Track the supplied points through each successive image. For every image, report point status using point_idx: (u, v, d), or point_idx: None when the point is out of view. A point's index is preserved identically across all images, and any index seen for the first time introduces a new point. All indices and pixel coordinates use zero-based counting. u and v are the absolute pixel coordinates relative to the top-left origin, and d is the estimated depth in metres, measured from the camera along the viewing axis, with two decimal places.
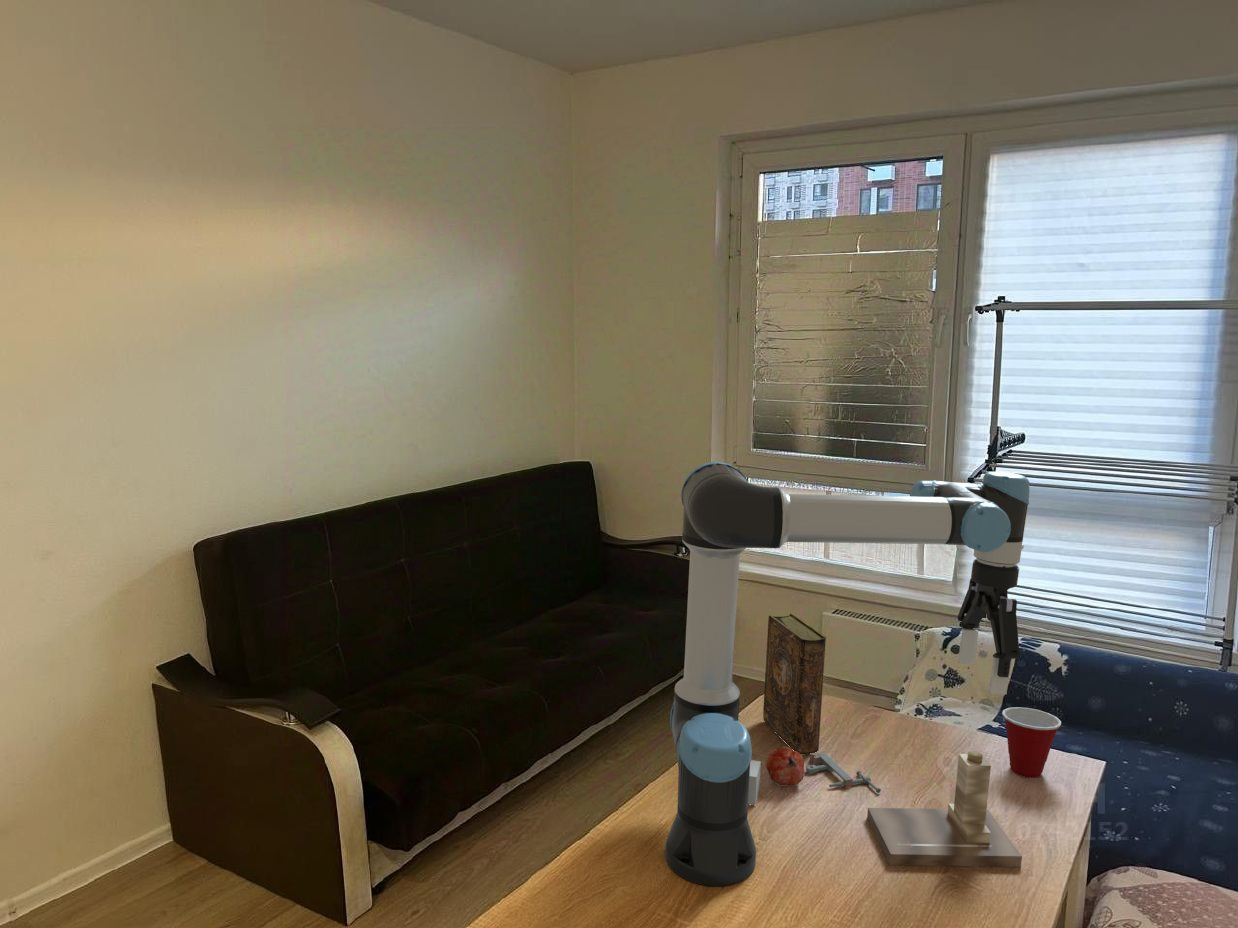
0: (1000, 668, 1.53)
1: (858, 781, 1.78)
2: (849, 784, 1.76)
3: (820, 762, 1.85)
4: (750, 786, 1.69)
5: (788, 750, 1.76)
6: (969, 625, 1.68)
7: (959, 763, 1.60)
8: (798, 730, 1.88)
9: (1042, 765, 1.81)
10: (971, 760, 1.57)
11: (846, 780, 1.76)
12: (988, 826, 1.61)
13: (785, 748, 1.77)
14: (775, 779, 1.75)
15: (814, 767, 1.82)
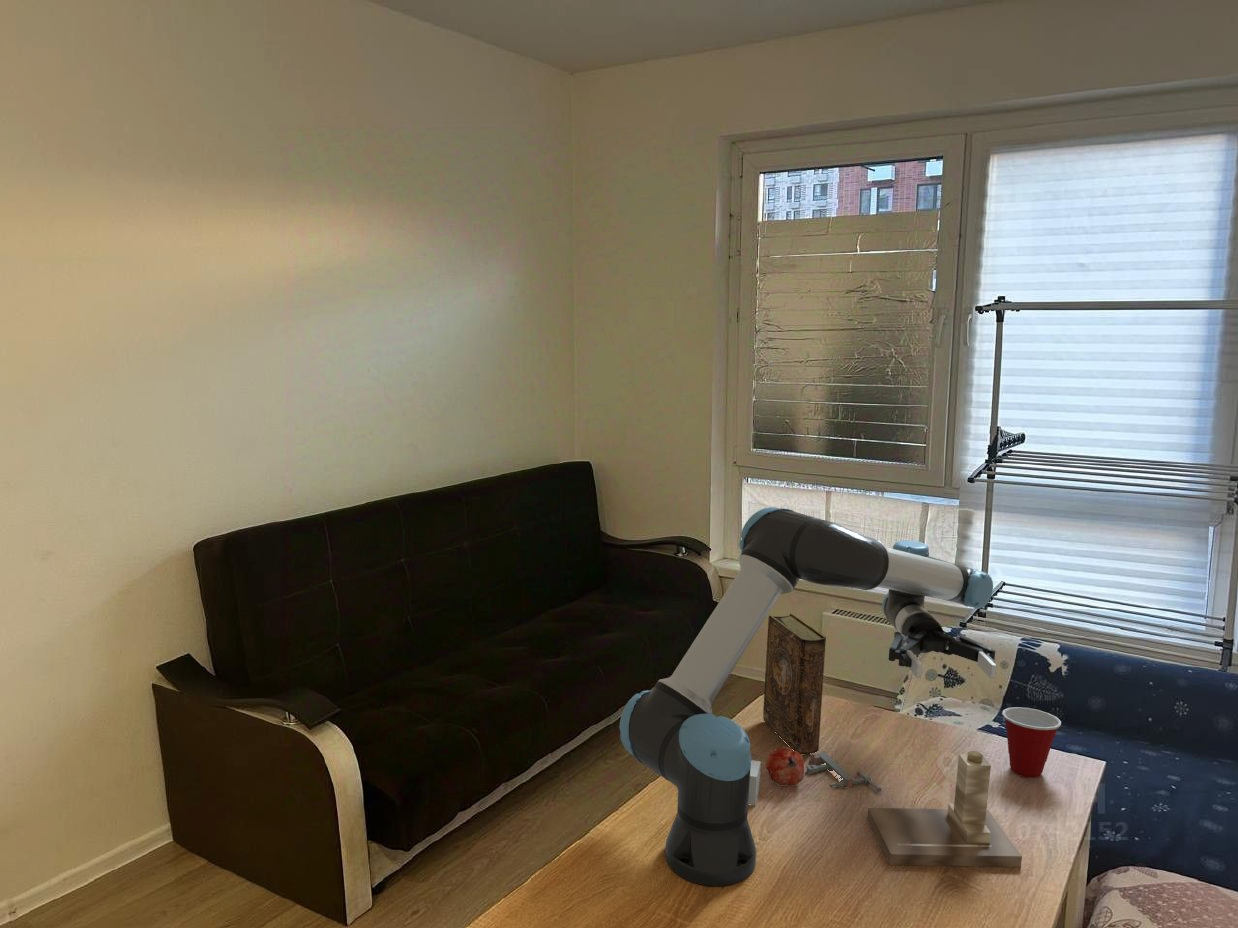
0: (990, 658, 1.72)
1: (859, 780, 1.78)
2: (850, 784, 1.76)
3: (820, 762, 1.85)
4: (750, 786, 1.69)
5: (788, 750, 1.76)
6: None
7: (959, 763, 1.60)
8: (798, 730, 1.88)
9: (1042, 765, 1.81)
10: (971, 760, 1.57)
11: (847, 780, 1.76)
12: (988, 826, 1.61)
13: (785, 748, 1.77)
14: (775, 779, 1.75)
15: (814, 767, 1.82)
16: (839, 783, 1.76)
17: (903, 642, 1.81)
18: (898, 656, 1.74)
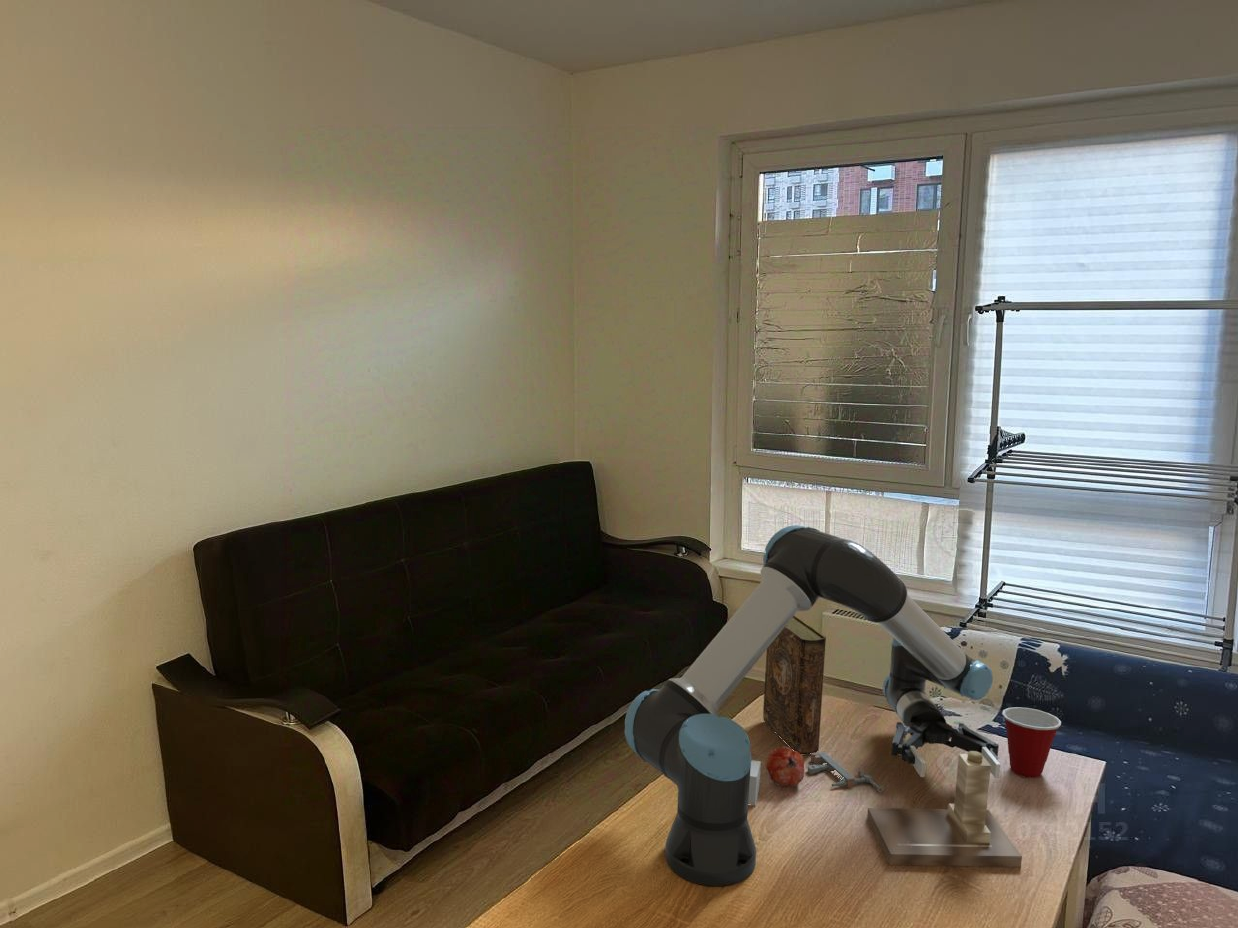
0: (993, 754, 1.70)
1: (860, 780, 1.78)
2: (851, 783, 1.77)
3: (821, 762, 1.85)
4: (750, 786, 1.69)
5: (788, 750, 1.76)
6: None
7: (959, 763, 1.60)
8: (798, 730, 1.88)
9: (1042, 765, 1.81)
10: (971, 760, 1.57)
11: (848, 779, 1.77)
12: (988, 826, 1.61)
13: (785, 748, 1.77)
14: (775, 779, 1.75)
15: (815, 767, 1.82)
16: (840, 783, 1.76)
17: (905, 733, 1.79)
18: (901, 751, 1.72)
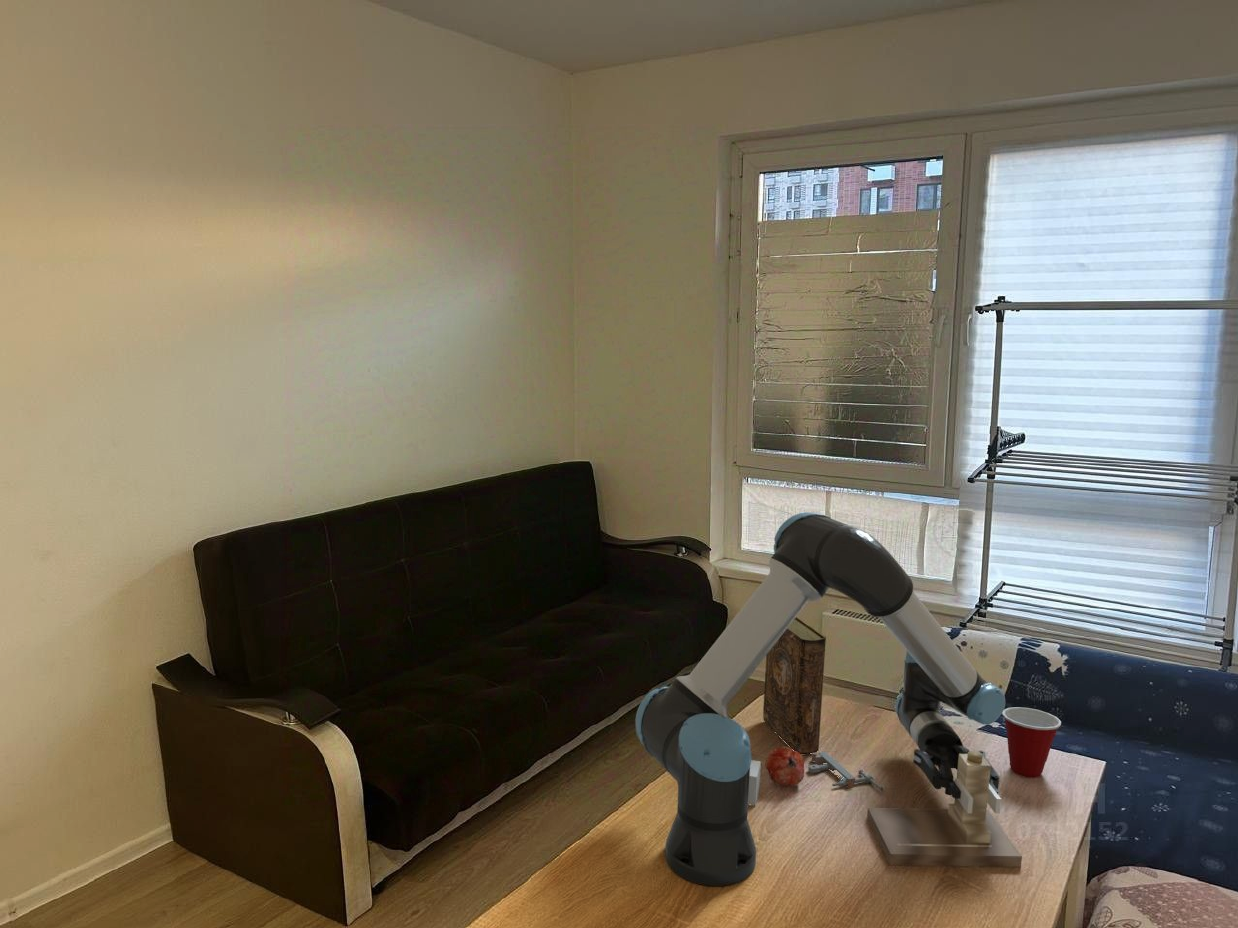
0: (994, 787, 1.58)
1: (861, 780, 1.78)
2: (852, 783, 1.77)
3: (822, 761, 1.85)
4: (750, 786, 1.69)
5: (788, 750, 1.76)
6: None
7: (959, 763, 1.60)
8: (798, 730, 1.88)
9: (1042, 765, 1.81)
10: (971, 760, 1.57)
11: (849, 779, 1.77)
12: (988, 826, 1.61)
13: (785, 748, 1.77)
14: (775, 779, 1.75)
15: (816, 767, 1.82)
16: (841, 782, 1.77)
17: None
18: (945, 784, 1.60)
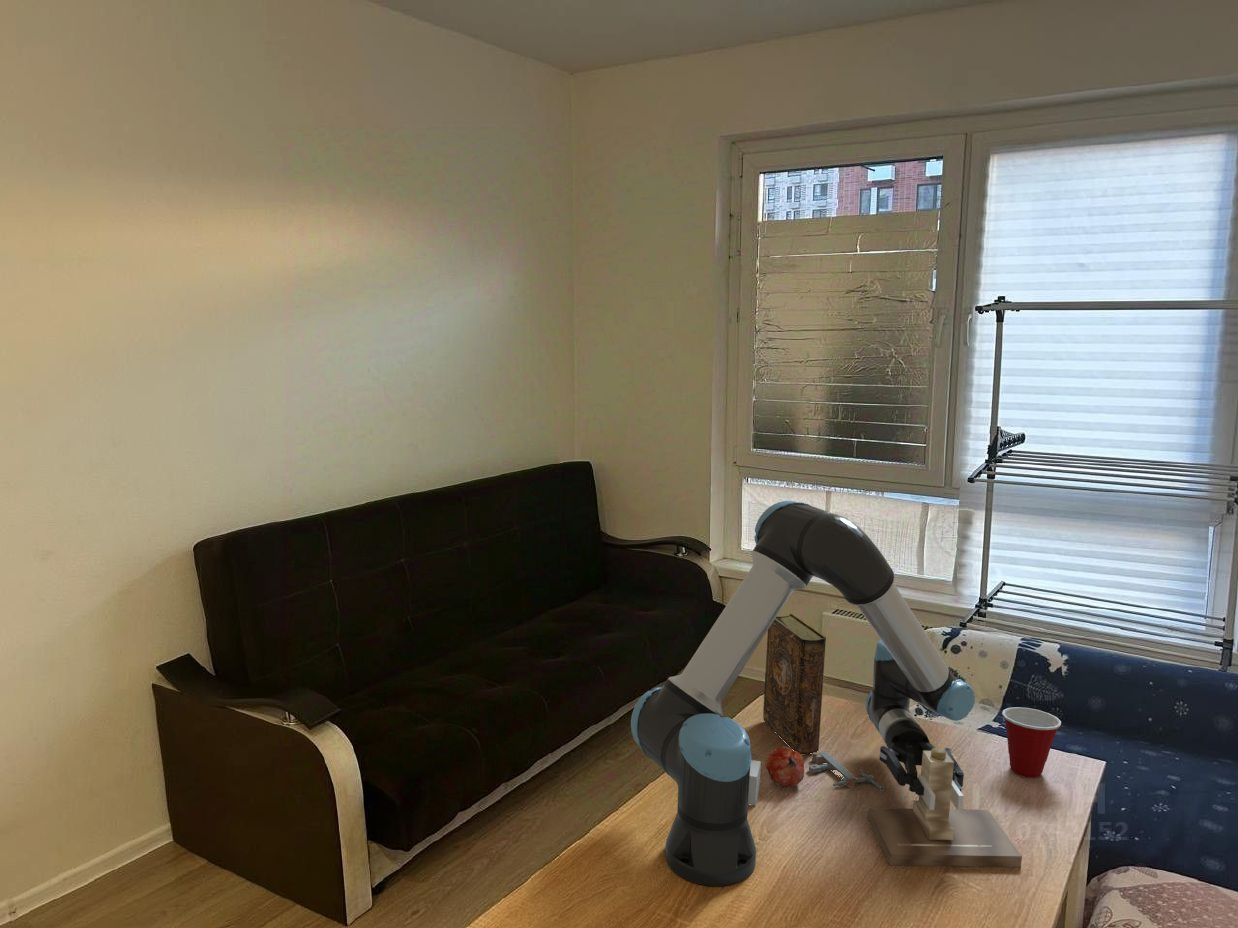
0: (957, 784, 1.58)
1: (861, 780, 1.78)
2: (852, 783, 1.77)
3: (822, 761, 1.85)
4: (750, 786, 1.69)
5: (788, 750, 1.76)
6: None
7: (923, 760, 1.60)
8: (798, 730, 1.88)
9: (1042, 765, 1.81)
10: (934, 757, 1.57)
11: (849, 779, 1.77)
12: (988, 826, 1.61)
13: (785, 748, 1.77)
14: (775, 779, 1.75)
15: (816, 767, 1.82)
16: (842, 782, 1.77)
17: None
18: (909, 781, 1.60)
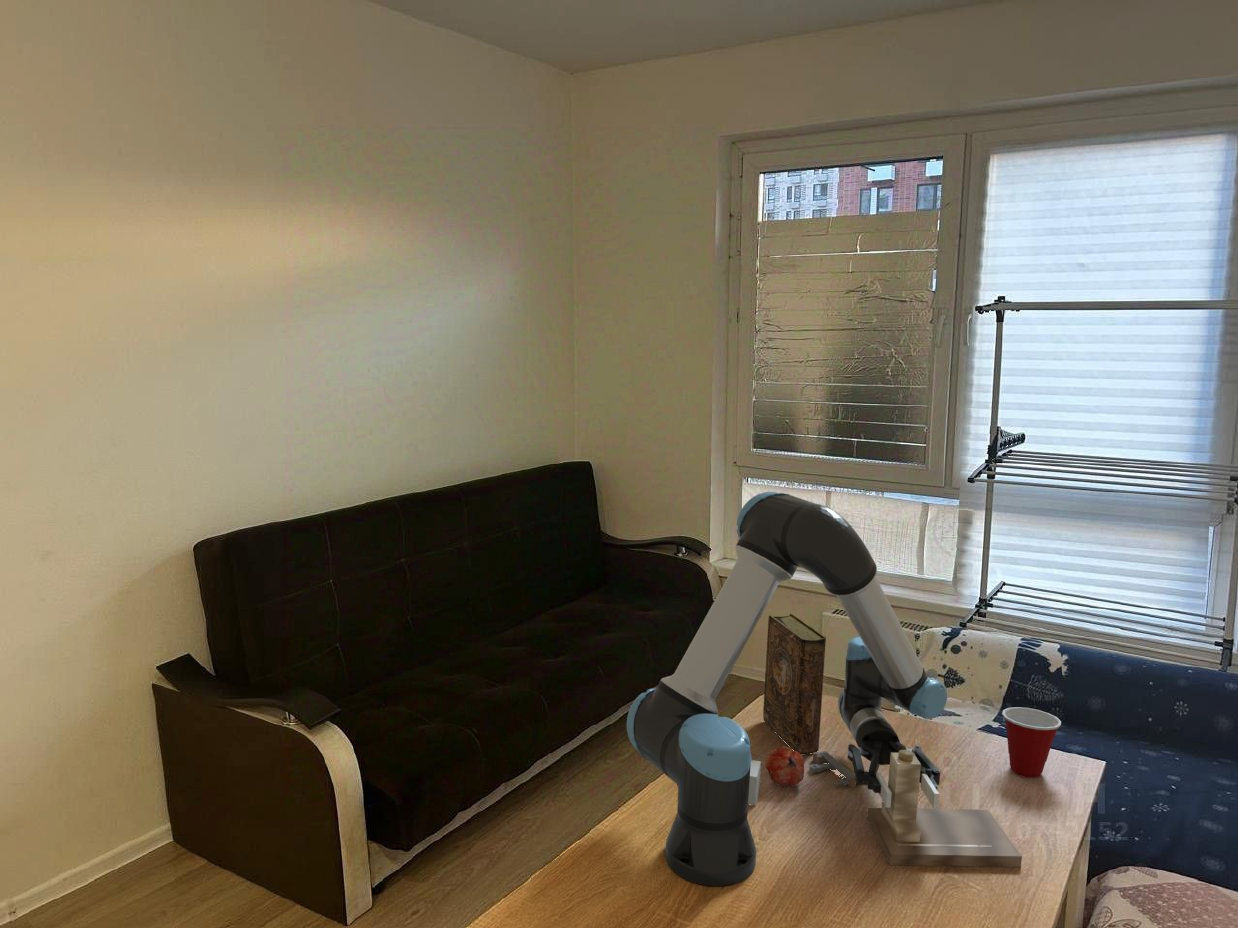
0: (933, 782, 1.59)
1: None
2: (853, 783, 1.77)
3: (823, 761, 1.85)
4: (750, 786, 1.69)
5: (788, 750, 1.76)
6: None
7: (890, 762, 1.60)
8: (798, 730, 1.88)
9: (1042, 765, 1.81)
10: (902, 759, 1.57)
11: (850, 779, 1.77)
12: (988, 826, 1.61)
13: (785, 748, 1.77)
14: (775, 779, 1.75)
15: (817, 766, 1.82)
16: (842, 782, 1.77)
17: None
18: (867, 779, 1.61)
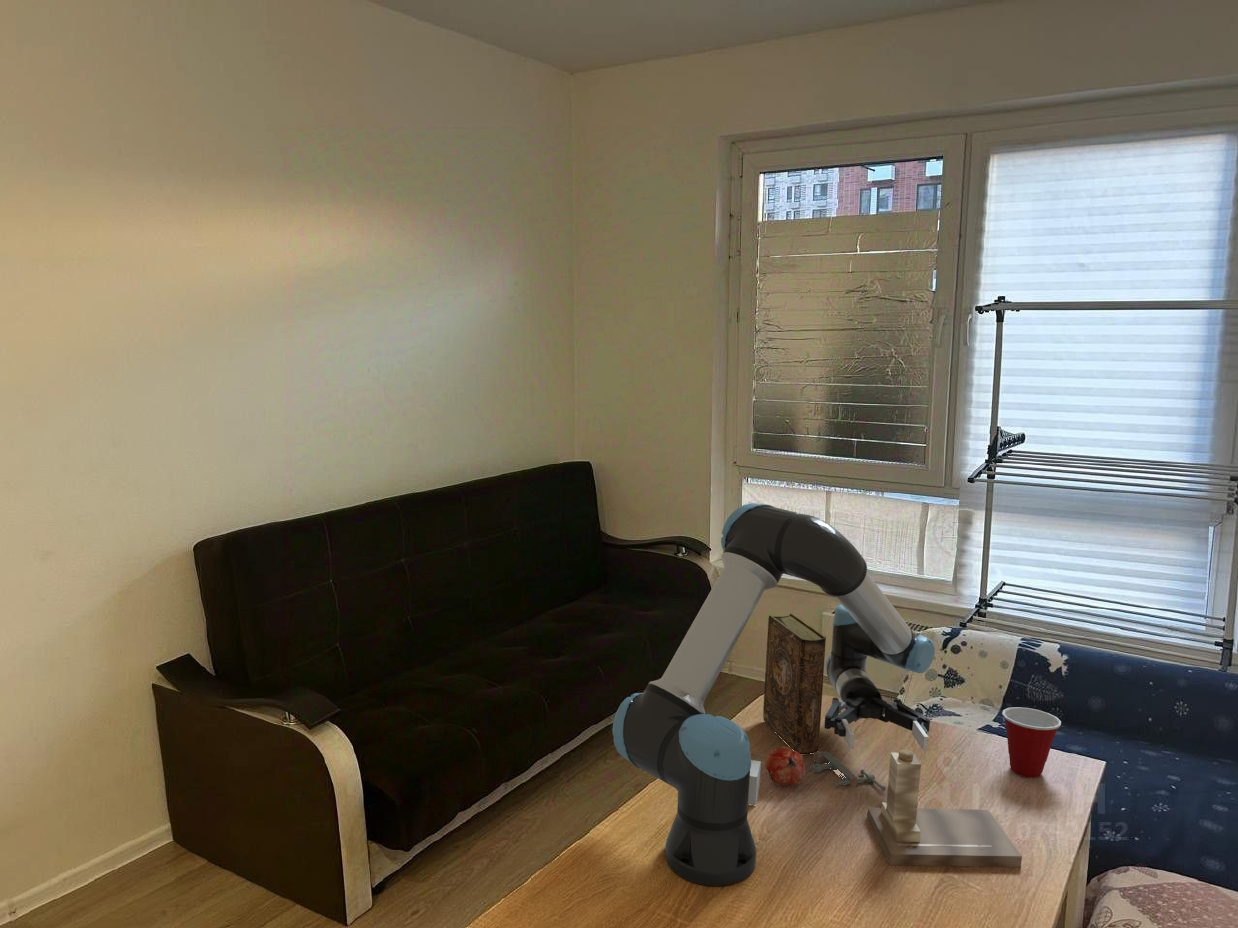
0: (924, 728, 1.73)
1: (863, 779, 1.78)
2: (854, 782, 1.77)
3: (823, 761, 1.86)
4: (750, 786, 1.69)
5: (788, 750, 1.76)
6: None
7: (890, 762, 1.60)
8: (798, 730, 1.88)
9: (1042, 765, 1.81)
10: (902, 759, 1.57)
11: (851, 778, 1.77)
12: (988, 826, 1.61)
13: (785, 748, 1.77)
14: (775, 779, 1.75)
15: (818, 766, 1.82)
16: (843, 782, 1.77)
17: (841, 708, 1.82)
18: (833, 724, 1.75)
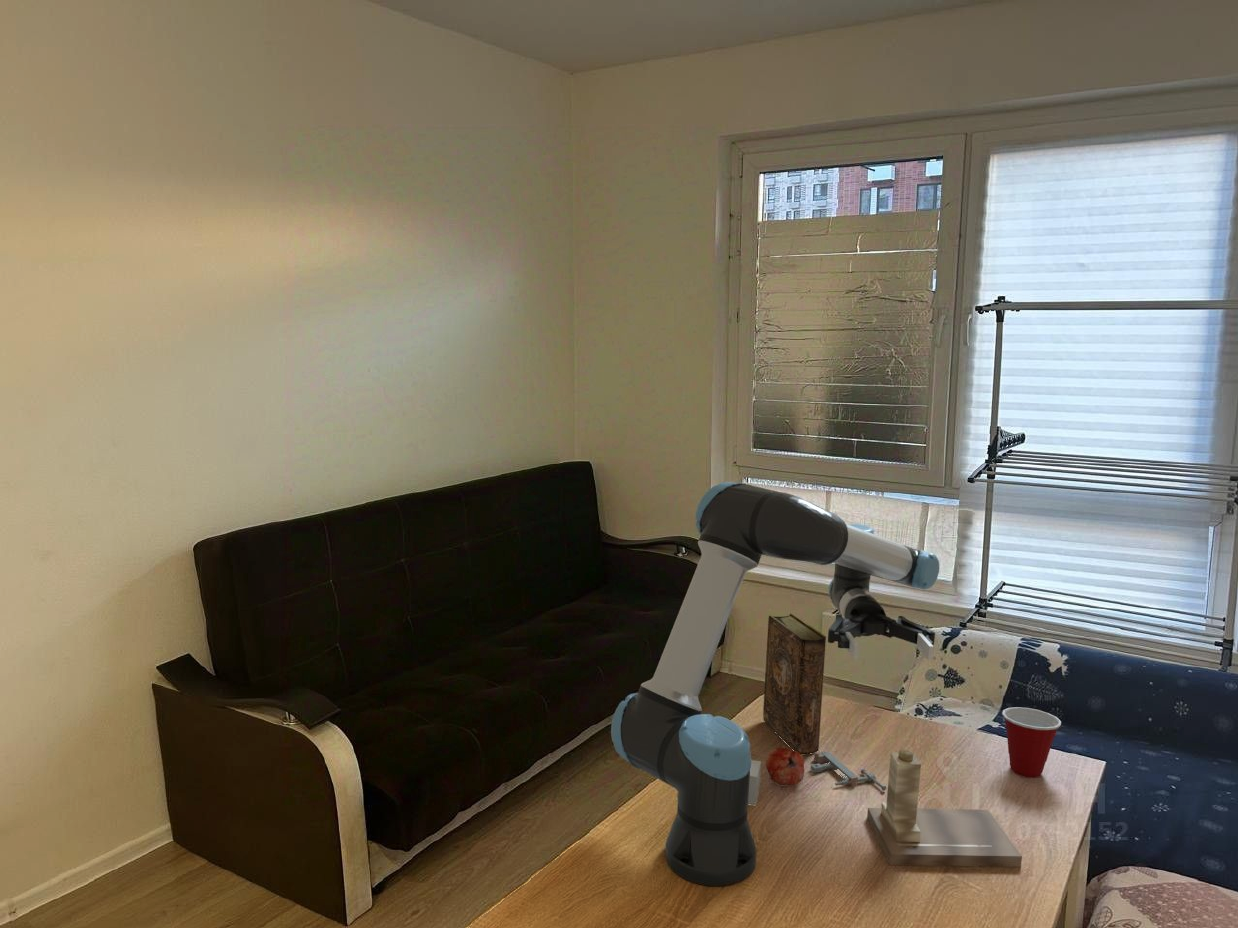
0: (929, 640, 1.70)
1: (863, 779, 1.78)
2: (855, 782, 1.77)
3: (824, 761, 1.86)
4: (750, 786, 1.69)
5: (788, 750, 1.76)
6: None
7: (890, 762, 1.60)
8: (798, 730, 1.88)
9: (1042, 765, 1.81)
10: (902, 759, 1.57)
11: (852, 778, 1.77)
12: (988, 826, 1.61)
13: (785, 748, 1.77)
14: (775, 779, 1.75)
15: (818, 766, 1.82)
16: (844, 782, 1.77)
17: (844, 625, 1.80)
18: (837, 638, 1.72)
